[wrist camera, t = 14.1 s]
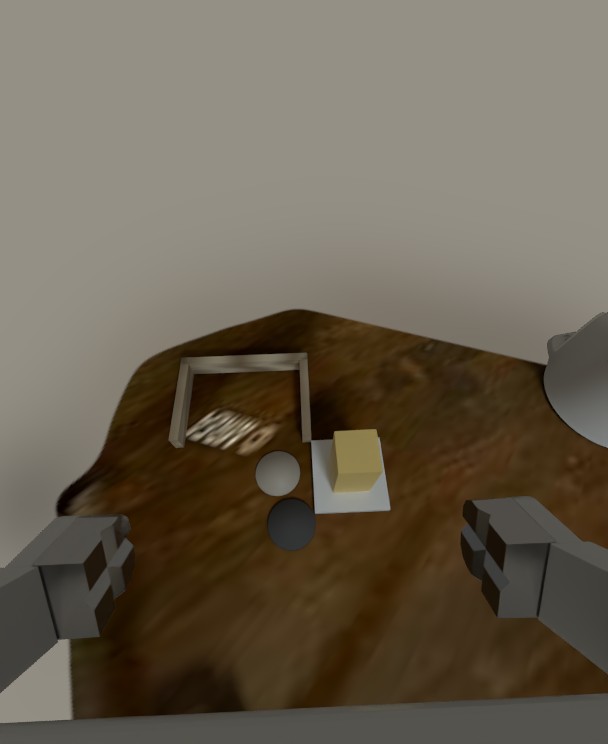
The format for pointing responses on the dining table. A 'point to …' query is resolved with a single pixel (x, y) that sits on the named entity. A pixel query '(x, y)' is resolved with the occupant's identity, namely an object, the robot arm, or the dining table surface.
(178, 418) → the cubby
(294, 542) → the hole disc
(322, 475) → the pad
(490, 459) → the dining table surface
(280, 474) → the painted circle
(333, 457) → the ochre block
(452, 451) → the dining table surface
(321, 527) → the dining table surface
